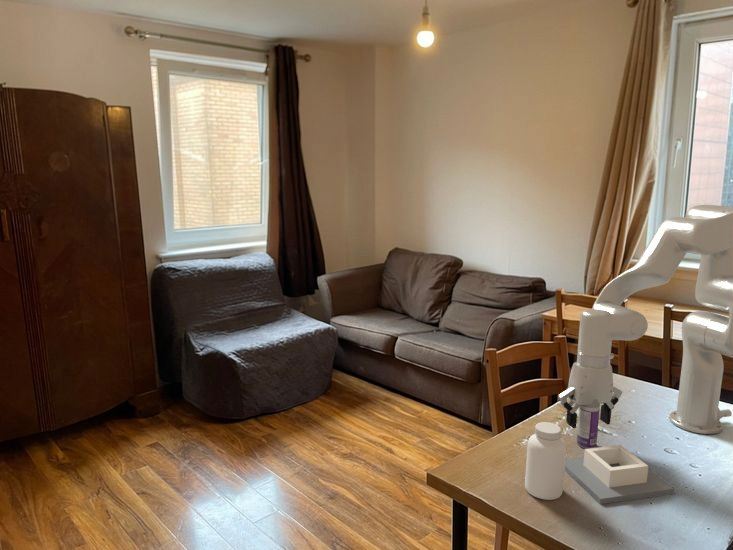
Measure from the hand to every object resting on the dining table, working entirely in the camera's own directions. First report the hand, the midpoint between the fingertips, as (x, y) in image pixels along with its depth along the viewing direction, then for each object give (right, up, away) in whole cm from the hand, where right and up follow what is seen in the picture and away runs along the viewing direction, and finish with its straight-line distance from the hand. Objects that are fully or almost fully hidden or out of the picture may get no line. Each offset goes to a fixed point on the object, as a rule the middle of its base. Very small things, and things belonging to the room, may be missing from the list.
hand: (588, 423), depth 138 cm
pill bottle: (-17, -10, -18) cm, 27 cm away
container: (0, -6, +1) cm, 6 cm away
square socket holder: (0, -9, -14) cm, 16 cm away
